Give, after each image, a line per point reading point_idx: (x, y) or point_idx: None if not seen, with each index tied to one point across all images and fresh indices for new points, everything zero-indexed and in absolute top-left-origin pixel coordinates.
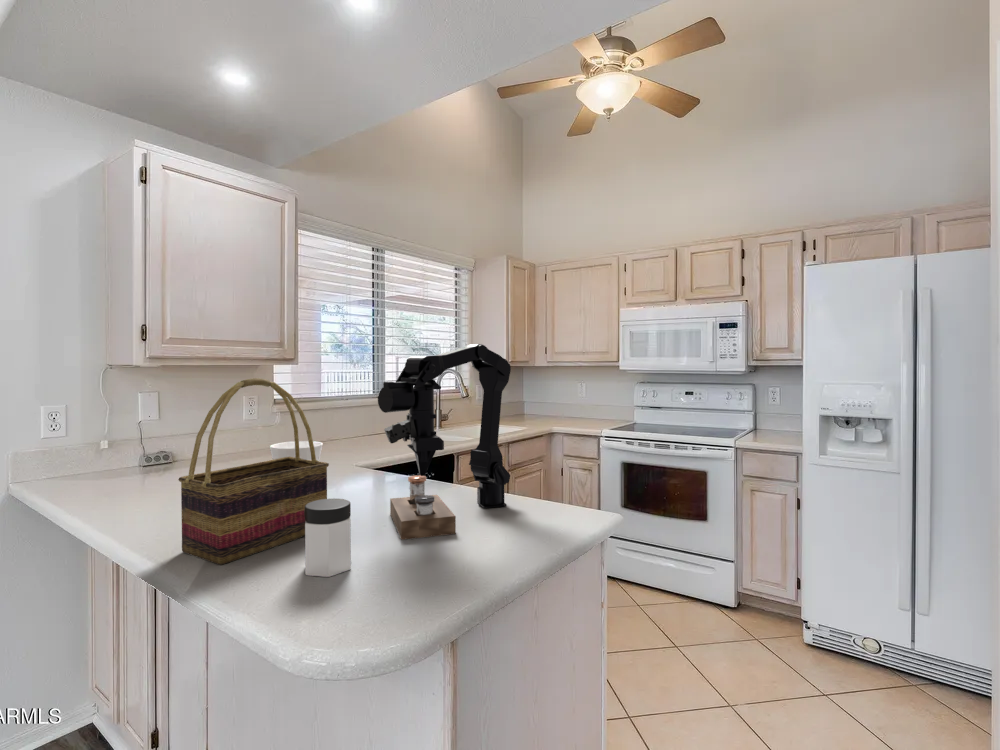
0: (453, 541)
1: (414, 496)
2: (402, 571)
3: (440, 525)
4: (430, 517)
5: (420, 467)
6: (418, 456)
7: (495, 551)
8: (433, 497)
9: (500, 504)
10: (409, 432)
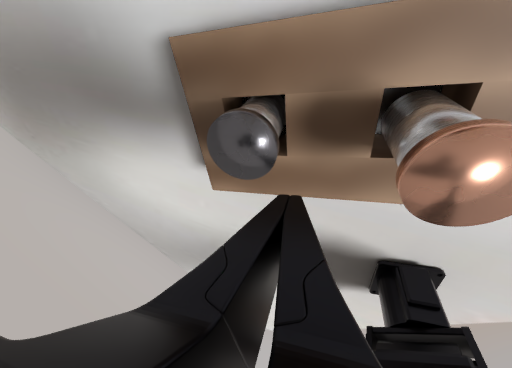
0: (188, 154)
1: (399, 120)
2: (34, 32)
3: None
4: (205, 134)
5: (249, 228)
6: (164, 297)
7: (149, 195)
8: (238, 176)
9: (377, 287)
10: None
